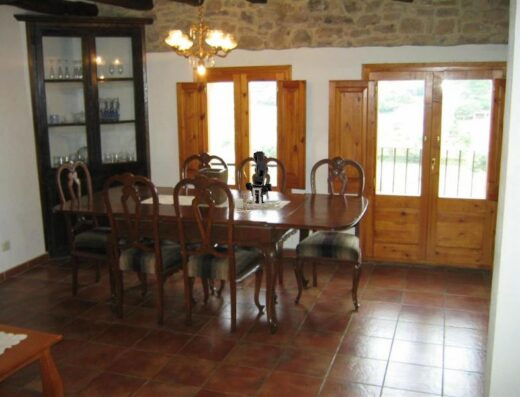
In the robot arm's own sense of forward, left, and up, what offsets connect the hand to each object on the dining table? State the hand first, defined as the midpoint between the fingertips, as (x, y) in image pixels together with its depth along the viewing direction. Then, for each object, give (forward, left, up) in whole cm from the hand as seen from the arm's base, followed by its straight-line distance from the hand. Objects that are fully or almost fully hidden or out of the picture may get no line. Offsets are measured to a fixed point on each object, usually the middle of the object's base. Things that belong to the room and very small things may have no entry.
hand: (256, 196), depth 393 cm
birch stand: (+2, -9, -10) cm, 14 cm away
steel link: (-1, +1, -6) cm, 7 cm away
